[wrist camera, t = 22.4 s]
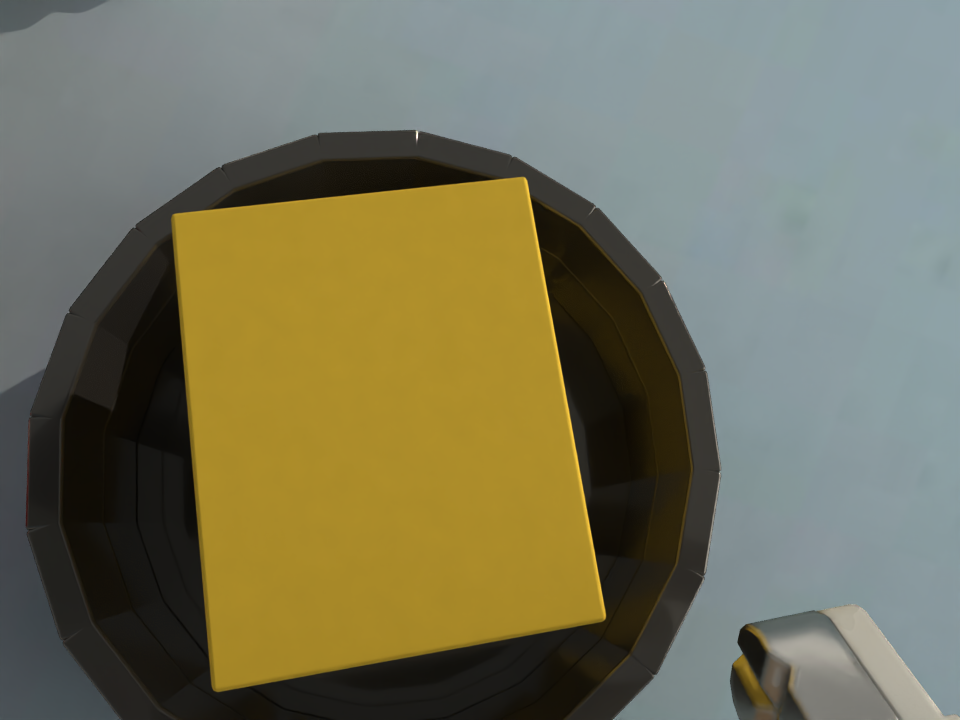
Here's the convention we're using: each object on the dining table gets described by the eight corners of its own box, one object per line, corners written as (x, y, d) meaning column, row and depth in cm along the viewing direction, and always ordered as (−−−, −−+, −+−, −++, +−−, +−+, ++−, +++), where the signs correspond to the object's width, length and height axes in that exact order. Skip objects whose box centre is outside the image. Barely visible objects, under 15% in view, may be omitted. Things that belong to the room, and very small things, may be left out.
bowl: (683, 286, 20) (763, 218, 16) (591, 801, 17) (657, 893, 13) (211, 165, 19) (157, 60, 15) (38, 678, 17) (-89, 731, 12)
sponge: (515, 580, 18) (608, 621, 10) (297, 618, 17) (211, 694, 9) (473, 321, 19) (526, 173, 11) (268, 348, 18) (169, 212, 10)
